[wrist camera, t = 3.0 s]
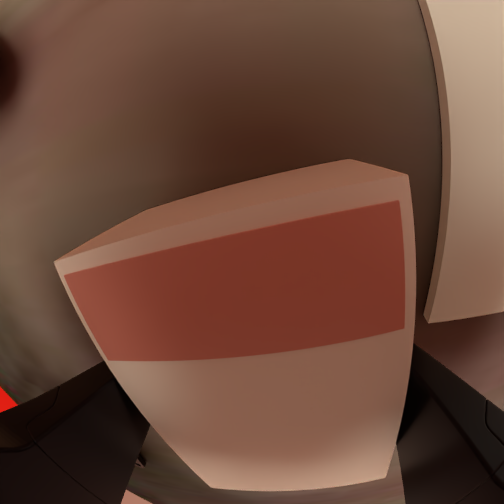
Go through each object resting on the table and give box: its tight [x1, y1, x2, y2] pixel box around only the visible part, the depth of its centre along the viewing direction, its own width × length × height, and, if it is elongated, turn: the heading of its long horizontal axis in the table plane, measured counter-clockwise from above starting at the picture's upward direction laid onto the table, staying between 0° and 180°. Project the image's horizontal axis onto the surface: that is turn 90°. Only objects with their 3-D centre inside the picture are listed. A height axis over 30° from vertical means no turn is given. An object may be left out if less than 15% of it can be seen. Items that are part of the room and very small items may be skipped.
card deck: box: [54, 159, 416, 491], centre depth 7 cm, size 9×6×4 cm, turn 15°
